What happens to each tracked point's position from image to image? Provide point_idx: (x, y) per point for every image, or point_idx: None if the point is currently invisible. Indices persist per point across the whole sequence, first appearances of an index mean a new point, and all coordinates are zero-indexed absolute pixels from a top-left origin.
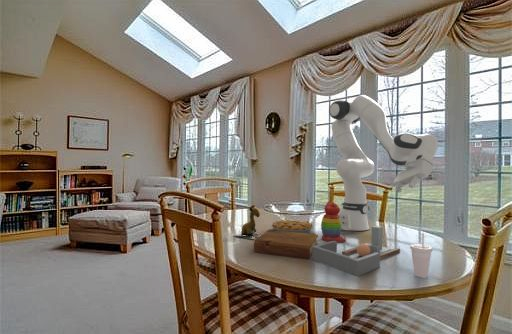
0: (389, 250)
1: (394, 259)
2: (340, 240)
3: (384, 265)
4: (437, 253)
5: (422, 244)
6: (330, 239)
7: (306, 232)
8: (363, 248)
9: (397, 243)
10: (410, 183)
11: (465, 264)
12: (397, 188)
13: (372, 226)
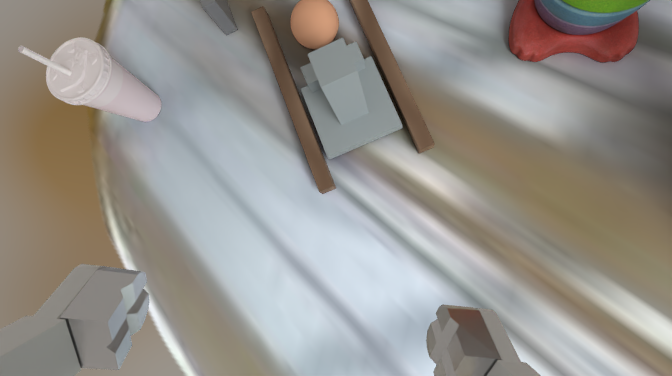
0: (312, 136)
1: (267, 121)
2: (512, 26)
3: (234, 57)
4: (271, 329)
5: (63, 67)
6: None
7: None
8: (295, 6)
9: (433, 278)
10: (88, 292)
11: (161, 315)
12: (466, 328)
13: (340, 40)
